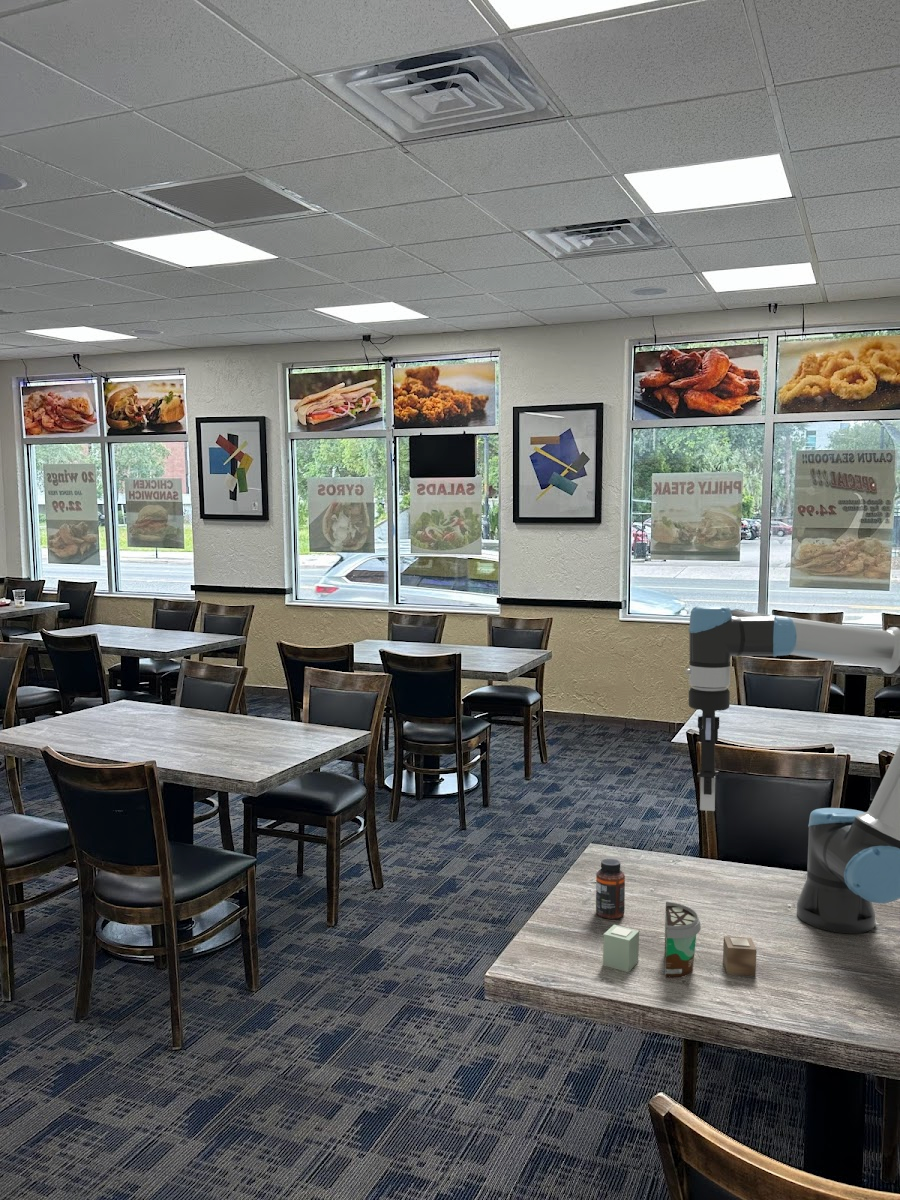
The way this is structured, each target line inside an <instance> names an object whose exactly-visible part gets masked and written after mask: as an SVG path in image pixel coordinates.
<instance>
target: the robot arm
mask: <svg viewBox="0 0 900 1200" xmlns="http://www.w3.org/2000/svg"><path fill="white" fill-rule="evenodd" d="M688 628H689V629H688V633H689V635H688V637H689V638H688V639H689V644H688V645H689V650H688V651H689V668H687V669H686V670H685V674H686V675H689V678H688V684H689V685H690V686H691V687H689V689H688V706H689V707H690V708H691V709H694V710H700V711H702V715H698V716H697V728H698V741H699V742H700V744H701V746H700V750H701V751H700V754H701V755H700V757H701V758H700V771H699V772H697V774H696V777H697V778H700V783H699V785H700V788H699V789H700V791H699V794H700V796H699V798H700V799H699V810H700V811H708V812H715V810H716V808H715V807H716V775H717V776H718V775H719V772H720V771H719V770H716V761H715V759H716V754H715V753H716V752H715V751H716V743H718V740H719V739H718V738H719V734H718V733H719V729H720V716H716V712H717V711H719V712H721V711H726V710H728V709H729V708H730V701H731V699H730V695H731V691H730V690H729V689H728V688H729V687H730V686H731V657H743V656H744V657H754V656H755V657H773V658H776V657H777V656H778V657H780V656H789V655H790V656H798V657H803V658H811V659H817V660H824V661H825V660H826V661H832V662H839V663H846V664H847V663H848V664H853V665H861V666H867V667H875V668H880V669H881V670H882V671H883V673H885V674H889V675H894V676H896V675H897V676H900V627H897V626H890V627H889V628H887V629H885V630H883V629H882V630H881V629H875V628H868V627H861V626H853V625H848V624H847V625H846V624H839V623H832V622H825V621H819V620H810V619H803V618H796V617H790V616H782V615H776V614H775V615H774V614H768V613H767V614H765V613H762V612H761V613H760V612H753V611H745V610H744V609H740V608H739V609H738V608H733V609H731V608H730V607H728V606H723V605H697V606H695V607H692V609H691V611H690V616H689V627H688ZM807 828H808V834H807V835H808V838H807V839H808V840H807V843H808V844H807V845H808V846H807V866H806V867H807V869H806V870H807V871H806V879H805V883H804V884H803V887H802V889H801V892H800V894H799V897H798V899H797V903H796V916H797V917H798V919H800V920H801V921H802V922H804V923H805V924H808V925H810V926H811V927H814V928H817V929H821V930H824V931H828V932H834V933H838V934H839V933H840V934H862V933H866V932H869V931H872V930H873V929H874V928H875V926H876V925H875V924H876V912H875V908H874V906H873V903H874V904H889V903H891V902H895V901H898V900H899V899H900V743H899V744H898V746H897V749H896V751H895V753H894V755H893V757H892V759H891V761H890V764H889V766H888V767H887V770H886V772H885V774H884V776H883V778H882V780H881V782H880V785H879V787H878V789H877V791H876V793H875V795H874V797H873V800H872V801H871V804H870V806H869V808H868V810H867V811H862V810H857V809H852V808H842V807H841V808H839V807H823V808H816V809H814V810H812V811H811V812H810V814H809V821H808V825H807Z"/></svg>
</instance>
